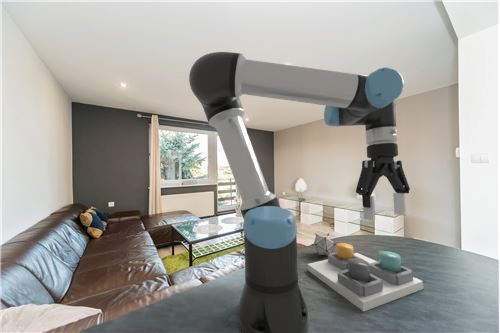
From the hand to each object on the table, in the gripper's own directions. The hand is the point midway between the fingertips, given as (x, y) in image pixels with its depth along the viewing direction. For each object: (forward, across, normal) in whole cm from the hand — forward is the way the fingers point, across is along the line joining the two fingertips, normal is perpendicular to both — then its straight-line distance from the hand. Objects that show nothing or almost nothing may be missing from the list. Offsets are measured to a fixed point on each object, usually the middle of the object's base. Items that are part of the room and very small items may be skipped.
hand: (385, 217), depth 54 cm
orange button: (+14, -6, +10) cm, 18 cm away
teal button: (+14, 0, 0) cm, 14 cm away
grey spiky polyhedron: (+19, -4, +22) cm, 29 cm away
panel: (+18, -6, +5) cm, 20 cm away
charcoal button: (+14, -12, 0) cm, 18 cm away
